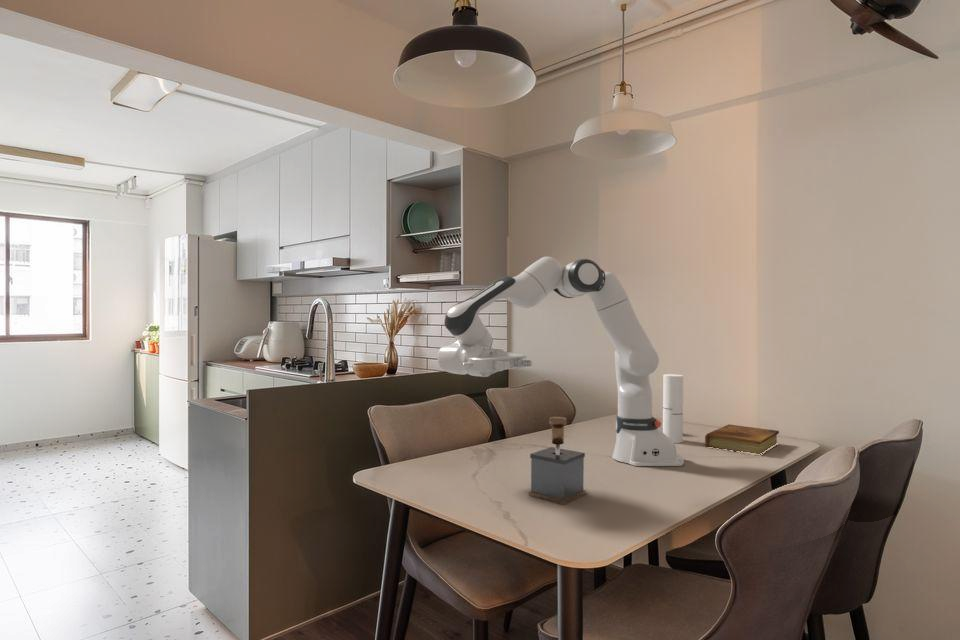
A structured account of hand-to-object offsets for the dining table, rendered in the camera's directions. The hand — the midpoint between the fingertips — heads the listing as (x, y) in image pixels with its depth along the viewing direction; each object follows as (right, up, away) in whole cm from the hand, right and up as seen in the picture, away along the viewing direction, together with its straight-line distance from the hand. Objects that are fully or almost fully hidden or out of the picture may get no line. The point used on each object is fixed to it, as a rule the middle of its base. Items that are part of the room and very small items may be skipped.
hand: (520, 364), depth 158 cm
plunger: (+9, -33, -7) cm, 35 cm away
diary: (+85, -34, +50) cm, 104 cm away
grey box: (+9, -34, -7) cm, 36 cm away
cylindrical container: (+62, -34, +57) cm, 90 cm away
